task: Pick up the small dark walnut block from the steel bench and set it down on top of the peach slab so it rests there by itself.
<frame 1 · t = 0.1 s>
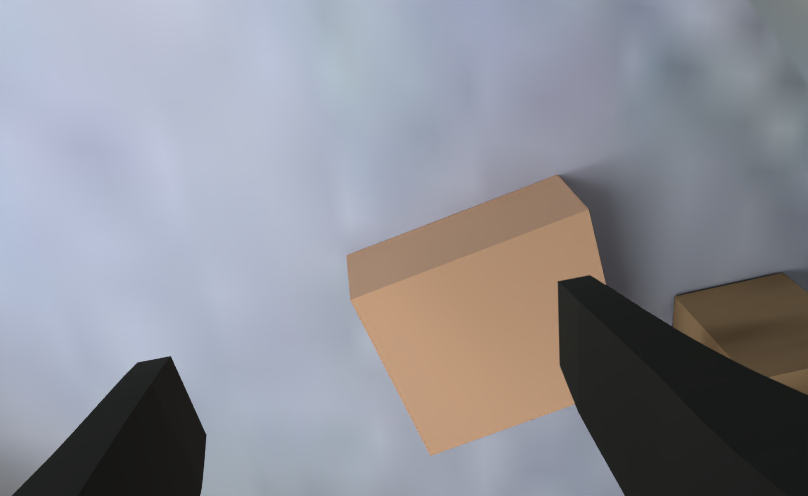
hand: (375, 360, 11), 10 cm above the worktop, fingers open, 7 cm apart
peach slab: (480, 297, 23), on the worktop
walnut block: (723, 327, 25), on the worktop
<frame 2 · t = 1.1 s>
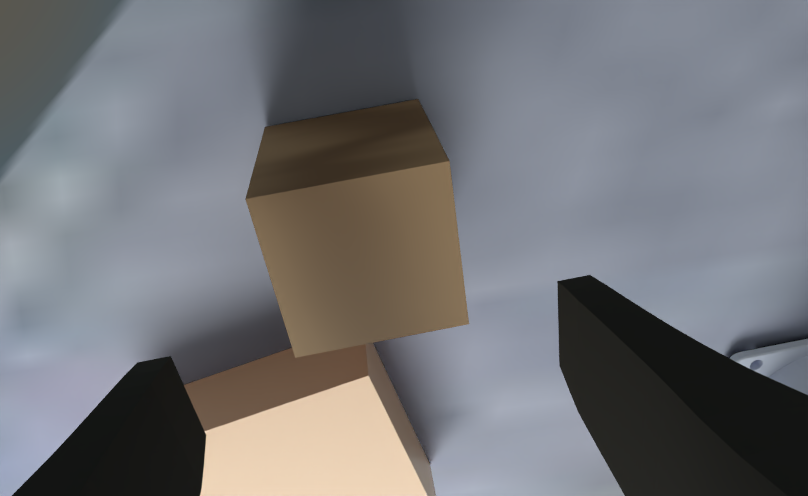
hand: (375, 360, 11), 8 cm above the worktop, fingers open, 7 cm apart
peach slab: (303, 428, 24), on the worktop
walnut block: (356, 183, 18), on the worktop
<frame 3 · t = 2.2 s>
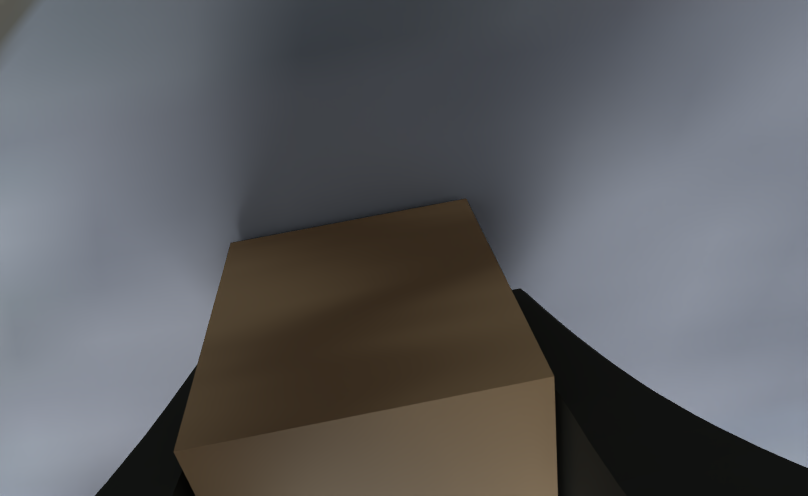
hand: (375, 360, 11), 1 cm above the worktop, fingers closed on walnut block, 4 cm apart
walnut block: (370, 315, 12), on the worktop, touching gripper
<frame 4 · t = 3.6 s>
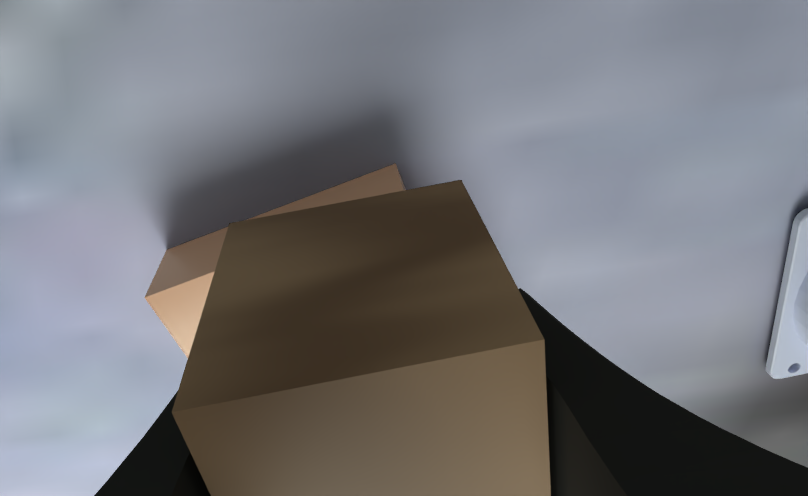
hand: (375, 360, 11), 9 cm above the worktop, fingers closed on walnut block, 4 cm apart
peach slab: (328, 298, 22), on the worktop
walnut block: (366, 297, 13), point 7 cm above the worktop, touching gripper
when the fingers open (6 cm above the worktop, at t = 5.0 s): walnut block drops 1 cm, point 3 cm above the worktop.
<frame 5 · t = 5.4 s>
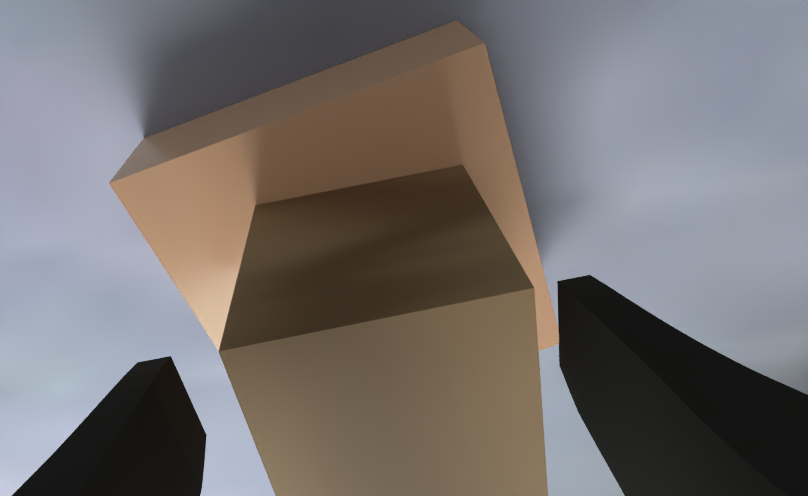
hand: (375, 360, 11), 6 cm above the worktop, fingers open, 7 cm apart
peach slab: (357, 215, 16), on the worktop
walnut block: (378, 273, 14), point 3 cm above the worktop
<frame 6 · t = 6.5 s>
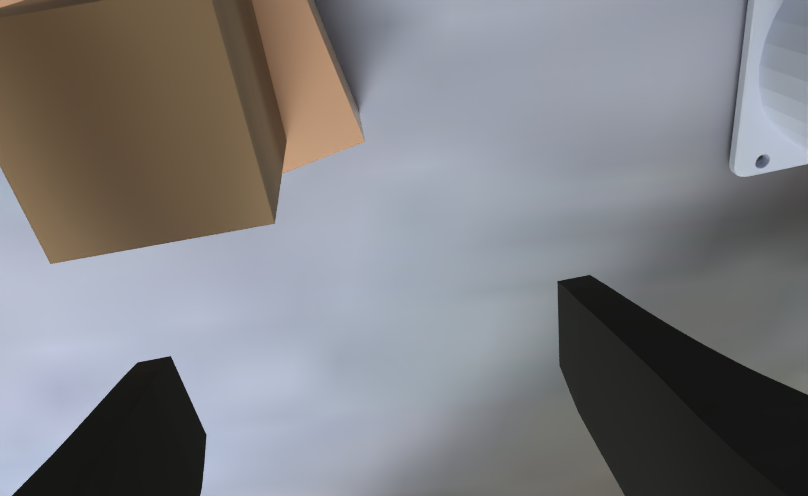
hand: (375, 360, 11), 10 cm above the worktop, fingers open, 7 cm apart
peach slab: (181, 35, 18), on the worktop
walnut block: (177, 72, 15), point 2 cm above the worktop
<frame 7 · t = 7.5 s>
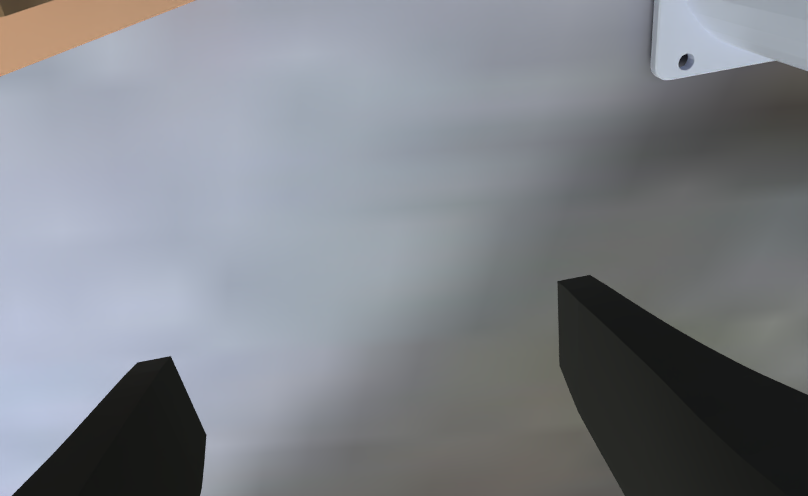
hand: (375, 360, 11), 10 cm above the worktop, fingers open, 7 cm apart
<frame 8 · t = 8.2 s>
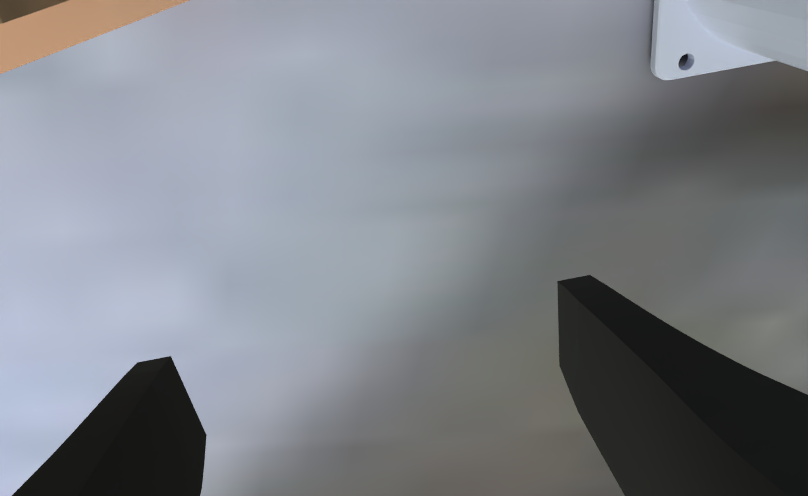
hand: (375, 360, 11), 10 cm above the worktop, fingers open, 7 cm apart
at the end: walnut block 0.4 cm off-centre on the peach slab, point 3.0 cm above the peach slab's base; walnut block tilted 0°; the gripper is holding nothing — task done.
